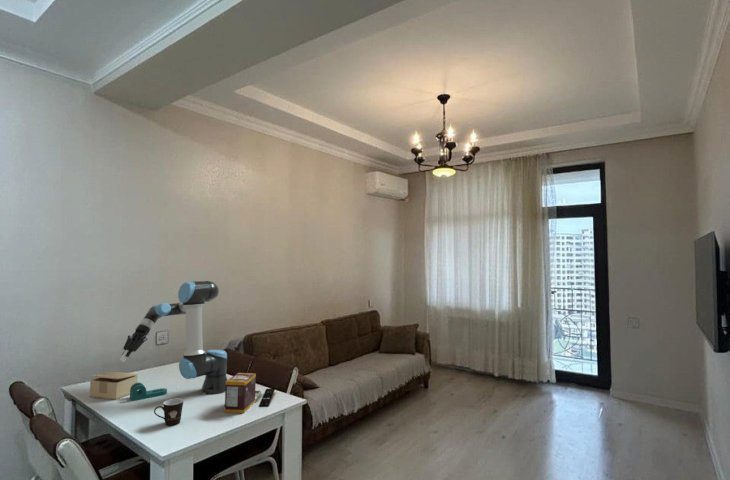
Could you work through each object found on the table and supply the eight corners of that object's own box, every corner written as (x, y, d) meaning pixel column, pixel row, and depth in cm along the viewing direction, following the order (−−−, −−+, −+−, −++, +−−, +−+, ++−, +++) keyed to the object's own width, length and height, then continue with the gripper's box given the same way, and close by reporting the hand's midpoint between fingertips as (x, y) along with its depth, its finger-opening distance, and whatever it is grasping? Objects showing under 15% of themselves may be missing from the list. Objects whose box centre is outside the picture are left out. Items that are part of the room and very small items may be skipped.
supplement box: (255, 402, 210) (256, 373, 211) (243, 413, 194) (244, 382, 195) (237, 401, 211) (238, 372, 212) (224, 412, 196) (225, 381, 196)
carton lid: (117, 379, 211) (117, 378, 211) (90, 376, 215) (91, 375, 215) (137, 375, 225) (138, 373, 225) (112, 372, 229) (112, 371, 229)
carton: (115, 400, 210) (116, 383, 211) (89, 396, 214) (89, 380, 215) (136, 391, 224) (137, 375, 224) (111, 388, 228) (112, 373, 228)
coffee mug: (185, 419, 186) (186, 398, 187) (177, 427, 177) (178, 405, 178) (161, 419, 186) (162, 398, 186) (152, 427, 177) (153, 405, 178)
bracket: (131, 401, 209) (132, 386, 209) (129, 398, 214) (130, 383, 214) (168, 394, 220) (168, 380, 221) (165, 391, 225) (165, 377, 226)
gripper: (156, 331, 243) (134, 365, 225) (139, 330, 245) (115, 363, 228) (150, 324, 238) (127, 358, 221) (132, 323, 241) (108, 356, 223)
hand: (121, 361), depth 224 cm, fingers closed
